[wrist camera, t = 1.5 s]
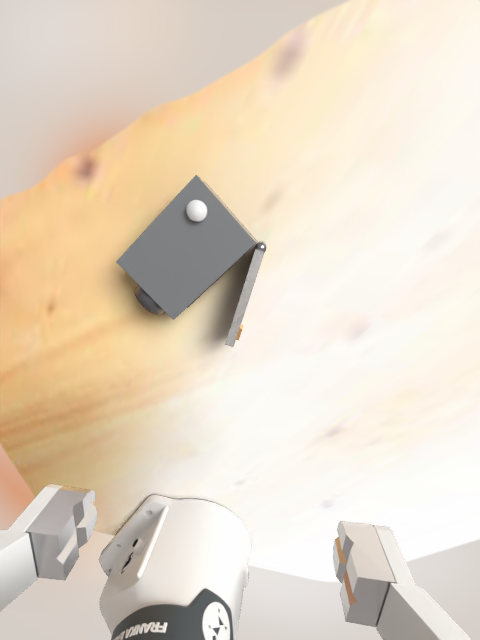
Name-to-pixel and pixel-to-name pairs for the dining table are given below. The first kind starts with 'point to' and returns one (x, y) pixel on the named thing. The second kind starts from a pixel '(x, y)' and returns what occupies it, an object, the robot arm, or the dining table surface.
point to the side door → (245, 294)
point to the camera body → (185, 250)
